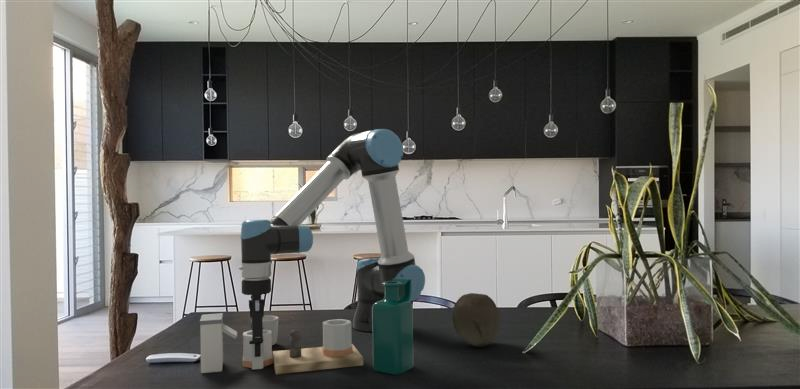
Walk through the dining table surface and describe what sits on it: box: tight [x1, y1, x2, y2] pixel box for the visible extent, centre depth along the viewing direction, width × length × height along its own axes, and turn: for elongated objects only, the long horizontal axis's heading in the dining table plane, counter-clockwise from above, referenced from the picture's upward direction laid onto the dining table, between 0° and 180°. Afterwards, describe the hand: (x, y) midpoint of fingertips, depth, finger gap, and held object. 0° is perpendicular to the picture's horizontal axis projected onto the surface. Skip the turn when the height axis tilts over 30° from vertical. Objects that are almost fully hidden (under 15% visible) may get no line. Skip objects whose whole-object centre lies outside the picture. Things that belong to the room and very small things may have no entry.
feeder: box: [199, 312, 238, 374], centre depth 142 cm, size 9×8×13 cm
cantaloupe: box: [451, 292, 501, 348], centre depth 158 cm, size 14×14×15 cm
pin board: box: [272, 329, 364, 375], centre depth 145 cm, size 22×14×9 cm, turn 106°
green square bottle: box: [371, 278, 414, 376], centre depth 138 cm, size 10×8×22 cm
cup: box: [262, 315, 280, 346], centre depth 161 cm, size 11×8×8 cm
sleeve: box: [242, 329, 274, 369], centre depth 144 cm, size 8×8×8 cm
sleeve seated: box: [321, 318, 353, 357], centre depth 146 cm, size 8×8×8 cm
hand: (257, 362), depth 144 cm, fingers open, 10 cm apart
